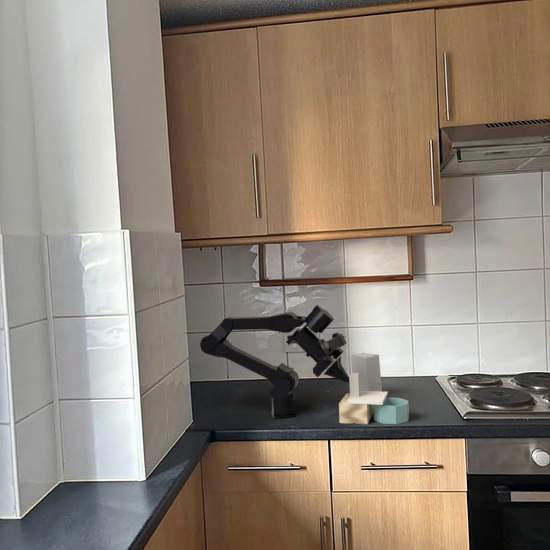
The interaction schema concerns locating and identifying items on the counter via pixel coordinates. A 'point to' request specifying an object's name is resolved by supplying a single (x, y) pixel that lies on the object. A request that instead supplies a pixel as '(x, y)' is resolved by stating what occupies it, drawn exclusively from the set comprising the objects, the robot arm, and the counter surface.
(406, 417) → the bowl
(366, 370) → the skincare box
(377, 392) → the lid
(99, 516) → the counter surface
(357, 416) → the block
